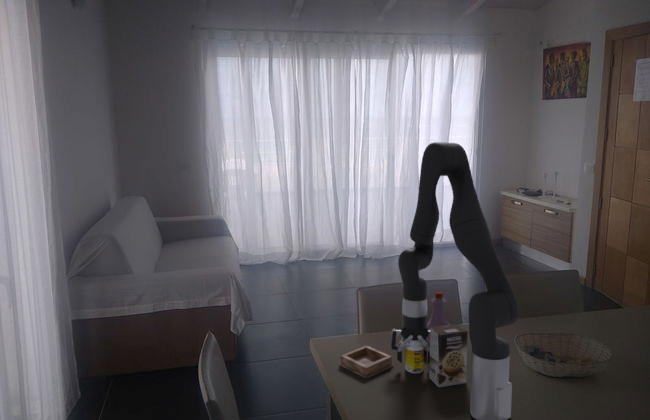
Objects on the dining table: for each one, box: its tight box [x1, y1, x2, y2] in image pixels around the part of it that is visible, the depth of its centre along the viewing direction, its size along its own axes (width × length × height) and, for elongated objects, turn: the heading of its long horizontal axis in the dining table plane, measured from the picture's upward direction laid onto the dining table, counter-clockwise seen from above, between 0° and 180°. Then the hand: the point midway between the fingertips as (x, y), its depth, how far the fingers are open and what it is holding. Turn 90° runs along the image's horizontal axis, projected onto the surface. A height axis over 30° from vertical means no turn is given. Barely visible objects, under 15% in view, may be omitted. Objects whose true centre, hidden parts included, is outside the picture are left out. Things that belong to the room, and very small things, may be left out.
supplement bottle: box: [404, 340, 425, 374], centre depth 157 cm, size 6×6×10 cm
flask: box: [421, 291, 451, 353], centre depth 170 cm, size 16×16×20 cm
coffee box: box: [428, 324, 469, 388], centre depth 149 cm, size 9×6×16 cm
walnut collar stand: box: [339, 344, 394, 380], centre depth 161 cm, size 12×12×3 cm
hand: (414, 361), depth 157 cm, fingers open, 8 cm apart
